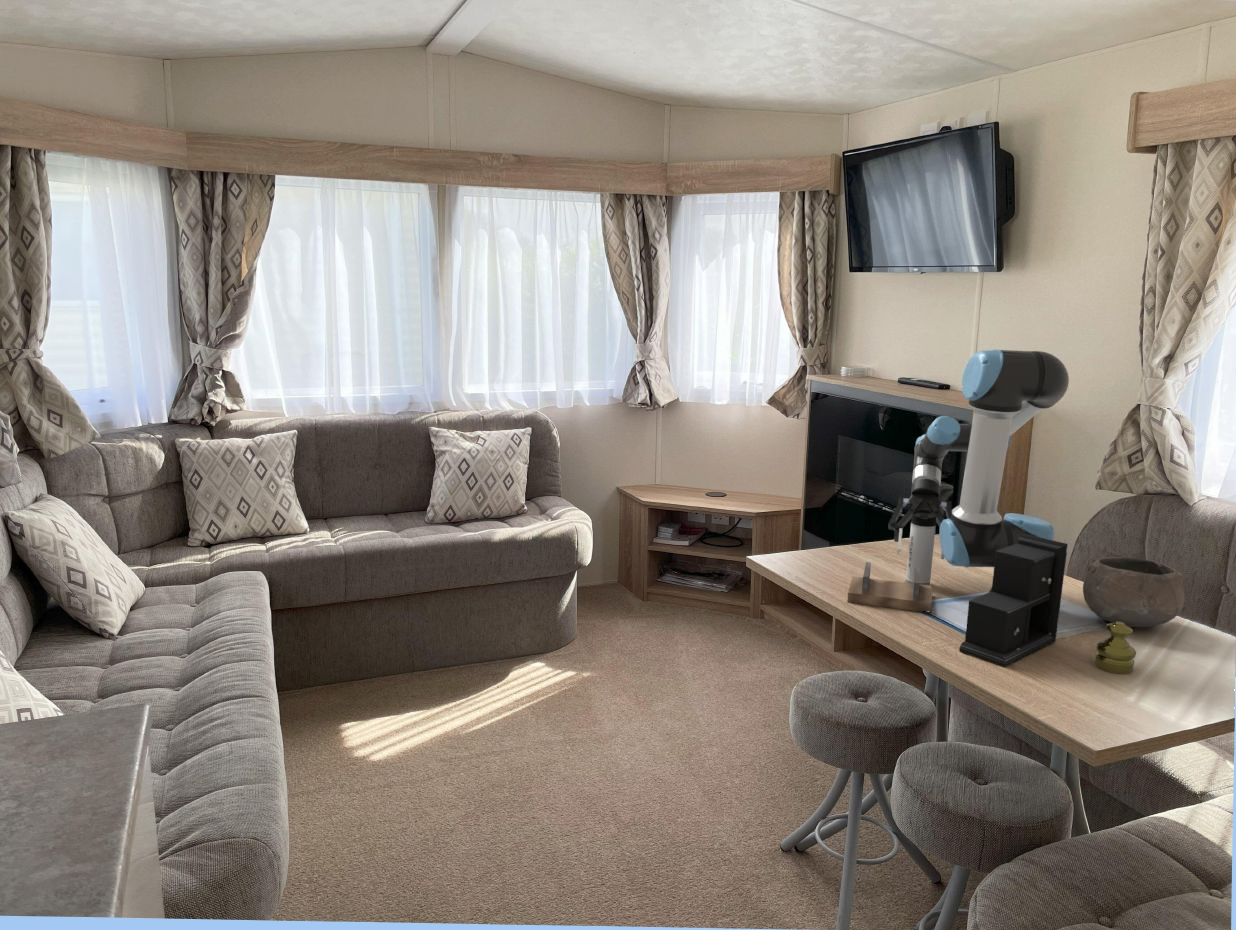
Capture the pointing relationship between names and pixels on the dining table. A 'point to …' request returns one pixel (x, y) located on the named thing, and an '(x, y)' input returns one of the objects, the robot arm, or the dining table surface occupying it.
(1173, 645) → the dining table surface
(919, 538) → the travel mug
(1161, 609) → the clay pot
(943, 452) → the robot arm
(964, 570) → the dining table surface
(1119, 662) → the green coiled snake figurine
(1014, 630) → the black mini cabinet
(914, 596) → the wooden rack
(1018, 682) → the dining table surface
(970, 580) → the dining table surface
